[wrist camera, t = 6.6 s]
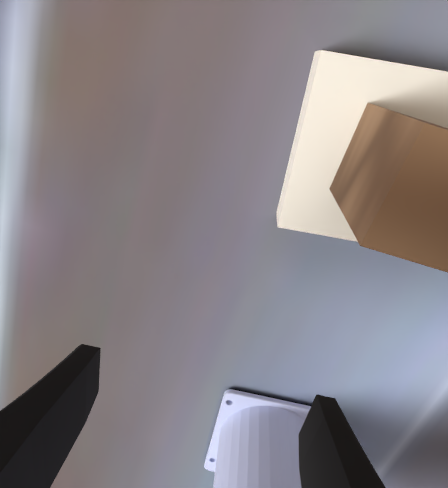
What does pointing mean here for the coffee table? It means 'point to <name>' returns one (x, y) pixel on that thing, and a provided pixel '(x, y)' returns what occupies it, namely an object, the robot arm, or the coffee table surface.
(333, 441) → the robot arm
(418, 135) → the walnut block
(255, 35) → the coffee table surface
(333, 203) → the cream slab
